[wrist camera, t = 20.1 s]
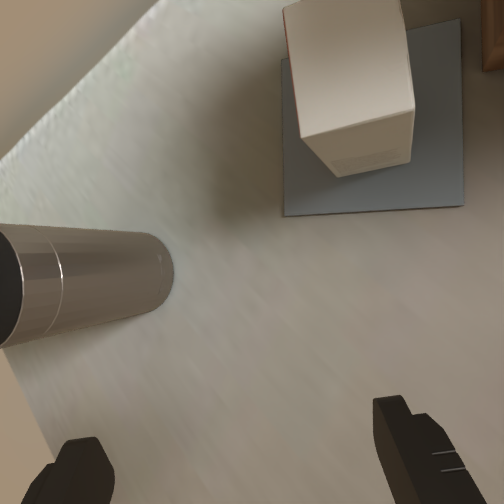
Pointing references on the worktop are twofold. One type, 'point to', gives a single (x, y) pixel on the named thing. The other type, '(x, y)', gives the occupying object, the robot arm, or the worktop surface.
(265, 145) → the worktop surface
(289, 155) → the mat
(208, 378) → the worktop surface
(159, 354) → the worktop surface
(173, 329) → the worktop surface
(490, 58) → the arch
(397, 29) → the small box
